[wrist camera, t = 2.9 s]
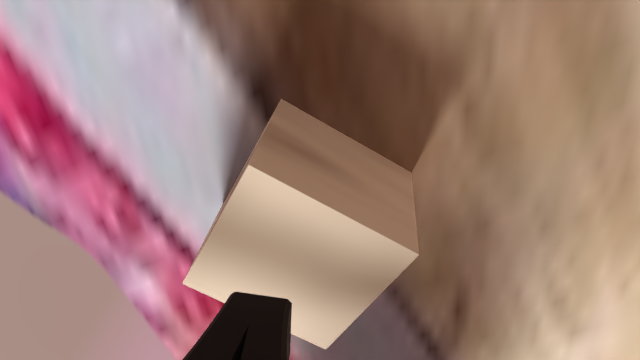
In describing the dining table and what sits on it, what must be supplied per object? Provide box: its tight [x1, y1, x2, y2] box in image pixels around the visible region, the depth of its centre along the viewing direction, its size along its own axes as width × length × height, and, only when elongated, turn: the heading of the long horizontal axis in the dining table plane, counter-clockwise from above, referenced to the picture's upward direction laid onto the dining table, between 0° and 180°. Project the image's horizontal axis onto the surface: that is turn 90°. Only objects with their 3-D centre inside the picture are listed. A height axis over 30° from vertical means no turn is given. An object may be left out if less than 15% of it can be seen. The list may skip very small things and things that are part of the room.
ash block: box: [182, 99, 419, 350], centre depth 17 cm, size 6×6×5 cm
